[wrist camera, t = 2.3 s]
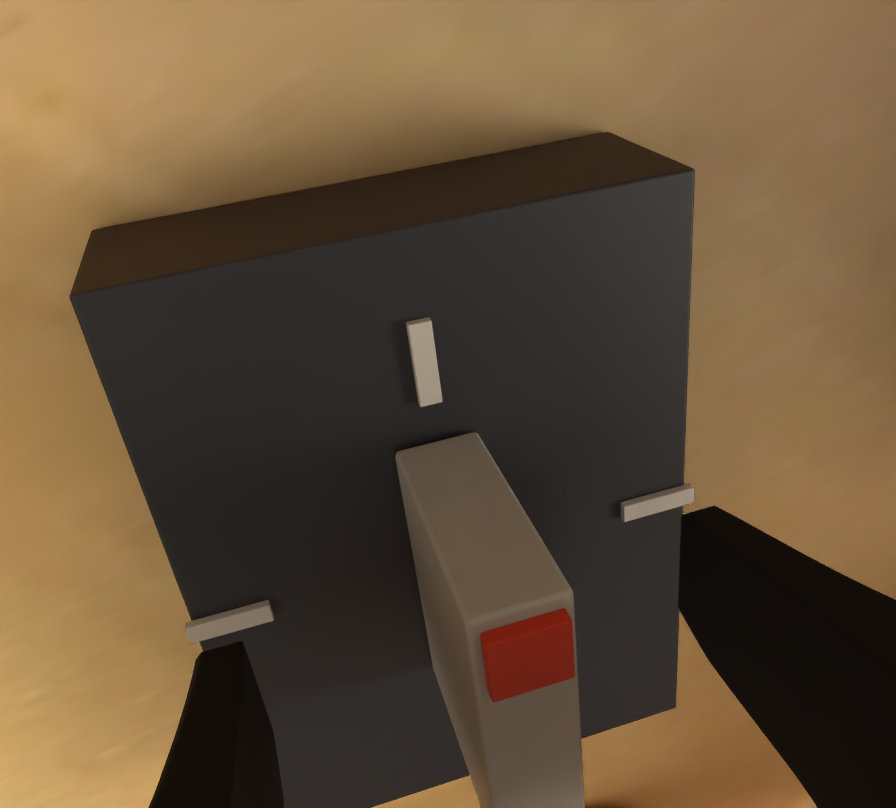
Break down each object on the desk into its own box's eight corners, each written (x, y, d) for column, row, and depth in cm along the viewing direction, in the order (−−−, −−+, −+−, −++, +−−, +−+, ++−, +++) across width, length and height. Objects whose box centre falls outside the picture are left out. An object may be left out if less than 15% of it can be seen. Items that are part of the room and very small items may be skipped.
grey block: (503, 647, 16) (595, 850, 12) (432, 668, 16) (506, 882, 12) (477, 428, 13) (583, 604, 10) (393, 450, 13) (471, 637, 10)
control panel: (620, 615, 21) (684, 712, 18) (258, 725, 19) (269, 849, 17) (614, 129, 15) (708, 169, 12) (84, 230, 13) (57, 301, 11)
